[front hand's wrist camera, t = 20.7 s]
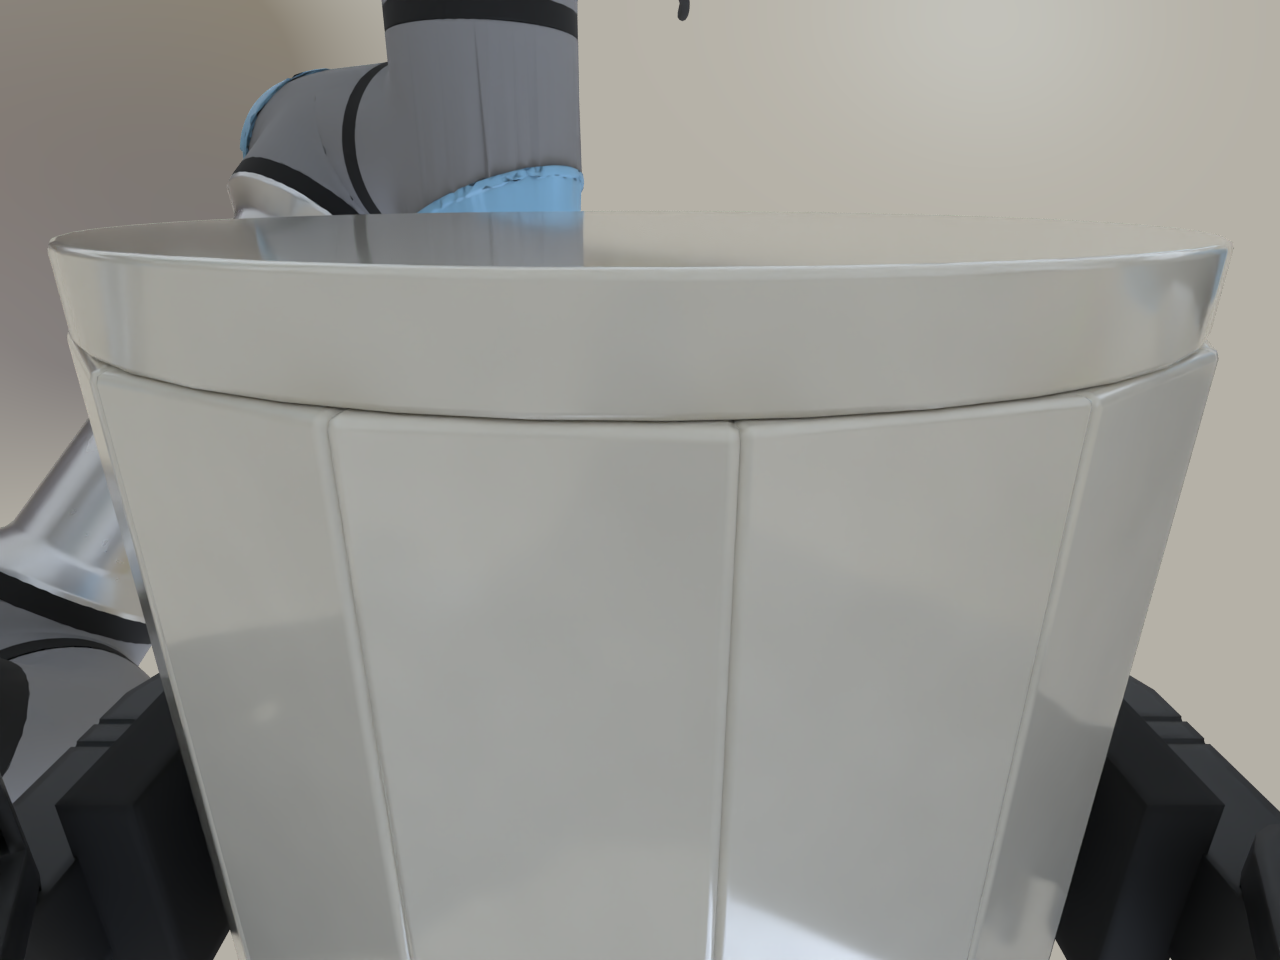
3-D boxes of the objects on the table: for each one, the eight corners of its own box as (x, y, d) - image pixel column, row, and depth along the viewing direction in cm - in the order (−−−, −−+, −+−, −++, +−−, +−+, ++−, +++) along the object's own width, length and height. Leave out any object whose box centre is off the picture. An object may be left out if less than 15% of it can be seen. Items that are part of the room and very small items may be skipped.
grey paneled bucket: (825, 209, 13) (784, 691, 17) (216, 213, 11) (325, 781, 14) (1634, 243, 5) (1187, 1220, 8) (-616, 311, 2) (205, 1688, 6)
